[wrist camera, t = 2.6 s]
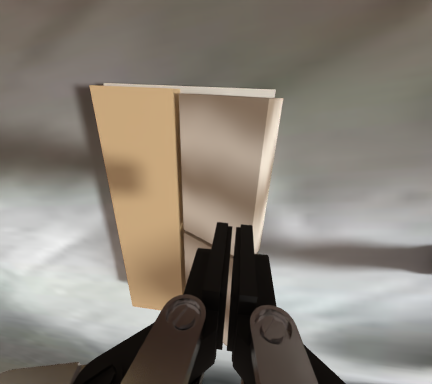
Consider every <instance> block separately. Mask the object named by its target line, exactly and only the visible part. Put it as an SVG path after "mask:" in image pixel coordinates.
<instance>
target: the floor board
mask: <svg viewBox="0 0 432 384" xmlns="http://www.w3.org/2000/svg"><path fill="white" fill-rule="evenodd" d="M89 86H90V91H91V96H92V101H93V106H94V112H95V117H96V122H97V127H98V132H99V137H100V142H101V147H102V152H103V157H104V163H105V168H106V173H107V178H108V183H109V188H110V193H111V198H112V203H113V208H114V213H115V219H116V224H117V229H118V234H119V239H120V244H121V249H122V254H123V259H124V264H125V269H126V275H127V280H128V285H129V290H130V295H131V300H132V305H133V306H135V307H142V308H149V309H155V310H162V309H163V307H164V306H165V304H166V303H167V302H168V301H169V300H171V299H172V298H174V297H176V296H178V295H183V293H184V290H185V287H186V279H185V251H184V232H186V230H184V223H183V195H182V167H181V139H180V111H179V93H184V94H212V95H230V96H248V97H266V98H275V91H276V90H272V89H246V88H219V87H193V86H167V85H141V84H114V83H104V86H96V85H89Z"/></svg>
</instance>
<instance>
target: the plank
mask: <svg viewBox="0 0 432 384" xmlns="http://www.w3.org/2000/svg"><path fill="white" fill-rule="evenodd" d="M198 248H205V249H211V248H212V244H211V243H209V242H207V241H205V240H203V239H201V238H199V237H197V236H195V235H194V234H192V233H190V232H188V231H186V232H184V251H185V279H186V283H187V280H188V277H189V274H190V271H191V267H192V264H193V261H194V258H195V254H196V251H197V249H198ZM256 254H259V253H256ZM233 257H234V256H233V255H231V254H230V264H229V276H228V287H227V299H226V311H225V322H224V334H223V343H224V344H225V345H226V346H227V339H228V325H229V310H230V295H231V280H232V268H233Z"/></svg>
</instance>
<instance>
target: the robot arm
mask: <svg viewBox="0 0 432 384" xmlns="http://www.w3.org/2000/svg"><path fill="white" fill-rule="evenodd" d="M232 227H233V226H228V223H223V222H217V225H216V229H215V234H214V239H213V243H212V248H211V249H205V248H198V249H197V251H196V254H195V258H194V261H193V264H192V267H191V271H190V274H189V277H188V280H187V283H186V287H185V290H184V293H183V295H178V296H176V297H174V298H172V299H171V300H169V301H168V302H167V303H166V304H165V306H164V307H163V309H162V311H161V312H160V314H159V316H158V318H157V319H156V321H155V322H154V323H153V324H151V325H150V326H148V327H146V328H145V329H143V330H141V331H140V332H138V333H136V334H135V335H133V336H131V337H130V338H128V339H126V340H125V341H123V342H121V343H120V344H118V345H116V346H115V347H113V348H112V349H110V350H108V351H107V352H105V353H103V354H102V355H100V356H98V357H97V358H95V359H94V360H92V361H91V362H90V363H88V364H86V365H80V364H79V362H73V363H64V364H55V365H46V366H37V367H28V368H19V369H12V370H8V371H5V372H2V373H0V384H202V381H203V377H204V372H205V371H206V370H207V369H208V368H209V367H211V366H212V365H213V364H214V362H215V359H216V350H217V349H220V350H222V345H223V334H224V322H225V311H226V299H227V287H228V276H229V264H230V252H231V240H232ZM227 351H232V362H233V367H234V369H235V370H236V371H237V373H238V374H239V375H240V377H241V384H346V383H344V382H343V381H342V380H341V379H340V378H339V377H338V376H337V375H336V374H335V373H334V372H333V371H332V370H330V369H329V368H328V367H327V366H326V365H325V364H324V363H323V362H322V361H321V360H320V359H319V358H318V357H317V356H315V355H314V354H313V353H312V352H311V351H310V350H309V349H308V348H307V347H306V346H305V345H304V344H303V342H302V340H301V337H300V334H299V332H298V329H297V326H296V324H295V322H294V321H293V319H292V318H291V316H290V315H289V314H288V313H287V312H285V311H284V310H282V309H281V308H278V307H276V301H275V295H274V288H273V282H272V275H271V269H270V263H269V257H268V255H261V254H254V240H253V226H252V225H244V224H241V227H236V235H235V246H234V257H233V268H232V280H231V295H230V310H229V325H228V339H227Z"/></svg>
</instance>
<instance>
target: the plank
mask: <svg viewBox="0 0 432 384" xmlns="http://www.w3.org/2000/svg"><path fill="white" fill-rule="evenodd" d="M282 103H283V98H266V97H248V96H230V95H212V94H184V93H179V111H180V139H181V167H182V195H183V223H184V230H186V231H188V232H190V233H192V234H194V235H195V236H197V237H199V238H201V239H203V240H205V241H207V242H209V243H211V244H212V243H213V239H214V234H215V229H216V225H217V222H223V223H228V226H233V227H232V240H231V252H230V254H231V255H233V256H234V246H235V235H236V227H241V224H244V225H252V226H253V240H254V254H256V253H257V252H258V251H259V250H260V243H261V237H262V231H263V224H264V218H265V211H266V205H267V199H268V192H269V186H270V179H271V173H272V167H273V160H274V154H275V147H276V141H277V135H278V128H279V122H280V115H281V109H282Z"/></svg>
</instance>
